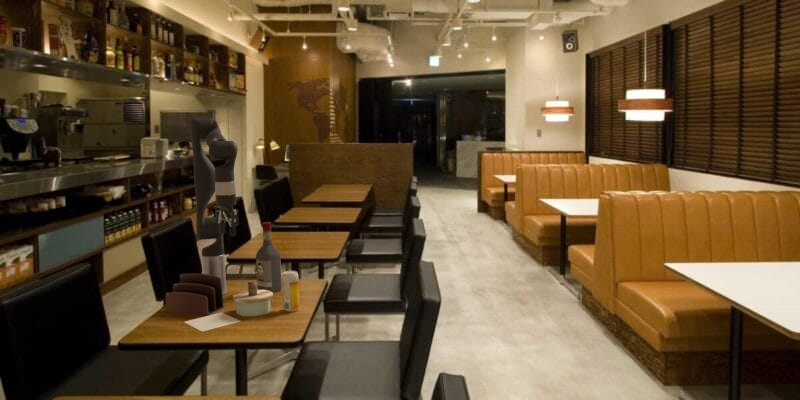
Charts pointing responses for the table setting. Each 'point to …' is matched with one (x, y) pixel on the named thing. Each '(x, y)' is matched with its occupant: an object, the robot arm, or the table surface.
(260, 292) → the lid
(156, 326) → the table surface
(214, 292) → the letter holder
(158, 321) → the table surface
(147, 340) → the table surface
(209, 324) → the mat
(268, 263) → the liquor
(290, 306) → the beer can
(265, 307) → the bowl
